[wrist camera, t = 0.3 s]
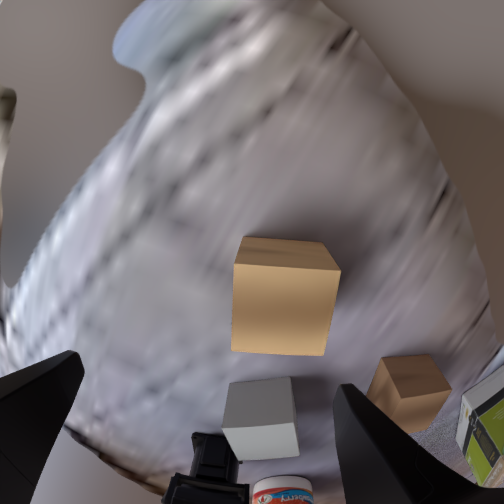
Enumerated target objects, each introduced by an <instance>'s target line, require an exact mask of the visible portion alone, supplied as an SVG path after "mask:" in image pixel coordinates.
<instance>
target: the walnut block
mask: <svg viewBox="0 0 504 504" xmlns="http://www.w3.org/2000/svg"><path fill="white" fill-rule="evenodd" d="M451 391H452V388H451V386H450V385H449V383H448V382H447V380H446V379H445V377H444V376H443V374H442V373H441V371H440V370H439V368H438V367H437V365H436V364H435V363H434V361H433V360H432V358H431V357H430V355H429V354H424V355H413V356H400V357H384V358H381V360H380V362H379V365H378V368H377V370H376V373H375V375H374V378H373V380H372V383H371V385H370V387H369V390H368V392H367V394H366V397H367V398H368V399H369V400H371V401H372V402H373V403H374V404H375V405H376V406H377V407H378V408H379V409H380V410H381V411H383V412H384V413H385V414H386V415H387V416H388V417H389V418H390V419H391V420H392V421H394V422H395V423H396V424H397V425H398V426H399V427H400V428H401V429H403V430H404V431H405V432H406V433H407V434H409V433H414V432H418V431H422V430H427V428H428V427H429V425H430V424H431V423H432V421H433V420H434V418H435V417H436V415H437V414H438V412H439V411H440V409H441V407H442V406H443V404H444V403H445V401H446V399H447V398H448V396H449V394H450V393H451Z"/></svg>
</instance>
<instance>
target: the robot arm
mask: <svg viewBox="0 0 504 504" xmlns="http://www.w3.org/2000/svg"><path fill="white" fill-rule="evenodd" d="M84 373H85V370H84V367H83V364H82V361H81V358H80V355H79V354H78V353H77V352H75V351H71V350H67V351H65V352H62V353H60V354H58V355H55V356H53V357H50V358H48V359H45V360H43V361H41V362H38V363H36V364H33V365H31V366H28V367H26V368H23V369H21V370H19V371H16V372H14V373H11V374H9V375H6V376H4V377H1V378H0V504H30V502H31V499H32V496H33V494H34V491H35V489H36V486H37V483H38V480H39V478H40V475H41V473H42V470H43V468H44V466H45V463H46V460H47V458H48V456H49V454H50V452H51V449H52V447H53V445H54V443H55V441H56V438H57V436H58V434H59V432H60V430H61V428H62V426H63V424H64V422H65V420H66V418H67V416H68V414H69V412H70V409H71V407H72V405H73V402H74V400H75V397H76V395H77V392H78V390H79V387H80V384H81V382H82V379H83V377H84ZM333 413H334V426H335V441H336V449H337V455H338V460H339V465H340V471H341V476H342V482H343V487H344V493H345V499H346V504H504V488H486V487H481V486H479V485H476V484H474V483H472V482H471V481H469V480H467V479H466V478H464V477H463V476H461V475H460V474H458V473H456V472H455V471H453V470H452V469H450V468H449V467H447V466H446V465H445V464H443V463H442V462H440V461H439V460H437V459H436V458H435V457H434V456H433V455H431V454H430V453H429V452H428V451H426V450H425V449H424V448H423V447H422V446H421V445H418V443H417V442H416V441H415V440H414V439H413V438H412V437H410V436H409V435H408V434H407V433H406V432H405V431H404V430H403V429H401V428H400V427H399V426H398V425H397V424H396V423H395V422H394V421H392V420H391V419H390V418H389V417H388V416H387V415H386V414H385V413H384V412H383V411H381V410H380V409H379V408H378V407H377V406H376V405H375V404H374V403H373V402H372V401H371V400H369V399H368V398H367V397H366V396H365V395H364V394H363V393H362V392H361V391H360V390H359V389H358V388H356V387H355V386H354V385H353V384H351V383H348V384H340V385H339V386H338V389H337V392H336V395H335V398H334V402H333ZM191 438H192V443H193V449H194V458H193V462H192V466H191V471H190V475H189V476H187V475H183V474H181V473H177V472H176V474H175V476H174V477H171V481H170V484H169V487H168V489H167V491H166V493H165V494H164V496H163V498H162V500H161V503H162V504H249V485H250V484H237V478H238V469H239V464H242V463H243V460H241V461H238V459H237V457H236V455H235V453H234V451H233V450H232V448H231V446H230V444H229V442H228V440H227V438H226V437H218V436H210V435H203V434H197V433H193V434H192V437H191Z"/></svg>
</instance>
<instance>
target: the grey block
mask: <svg viewBox="0 0 504 504" xmlns="http://www.w3.org/2000/svg"><path fill="white" fill-rule="evenodd" d="M222 430H223V432H224V434H225V436H226V438H227V440H228V442H229V444H230V446H231V448H232V450H233V451H234V453H235V455H236V457H237V459H238V461H241V460H262V459H275V458H285V457H294V456H300V450H299V436H298V424H297V412H296V407H295V401H294V395H293V390H292V384H291V379H290V376H288V377H281V378H274V379H266V380H258V381H248V382H238V383H229V389H228V395H227V400H226V406H225V412H224V418H223V423H222Z"/></svg>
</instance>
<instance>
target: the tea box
mask: <svg viewBox="0 0 504 504" xmlns="http://www.w3.org/2000/svg"><path fill="white" fill-rule="evenodd" d="M456 441H457V443H458V445H459V447H460V449H461V451H462V452H463V454H464V456H465V458H466V460H467V462H468V464H469V466H470V468H471V470H472V472H473V474H474V476H475V478H476V480H477V482H478V485H479V486H481V487H486V488H496V487H497V486H499V485H500V484H502V483H503V482H504V365H502V366H501V367H500V368H498V369H497V370H496V371H494V372H493V373H492V374H491V375H489V376H488V377H486V378H485V379H484V380H482V381H481V382H479V383H478V384H477V385H475V386H474V387H472V388H471V389H470V390H468V391H467V392H465V393H464V394H463V395H462V404H461V411H460V417H459V423H458V429H457V434H456Z"/></svg>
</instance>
